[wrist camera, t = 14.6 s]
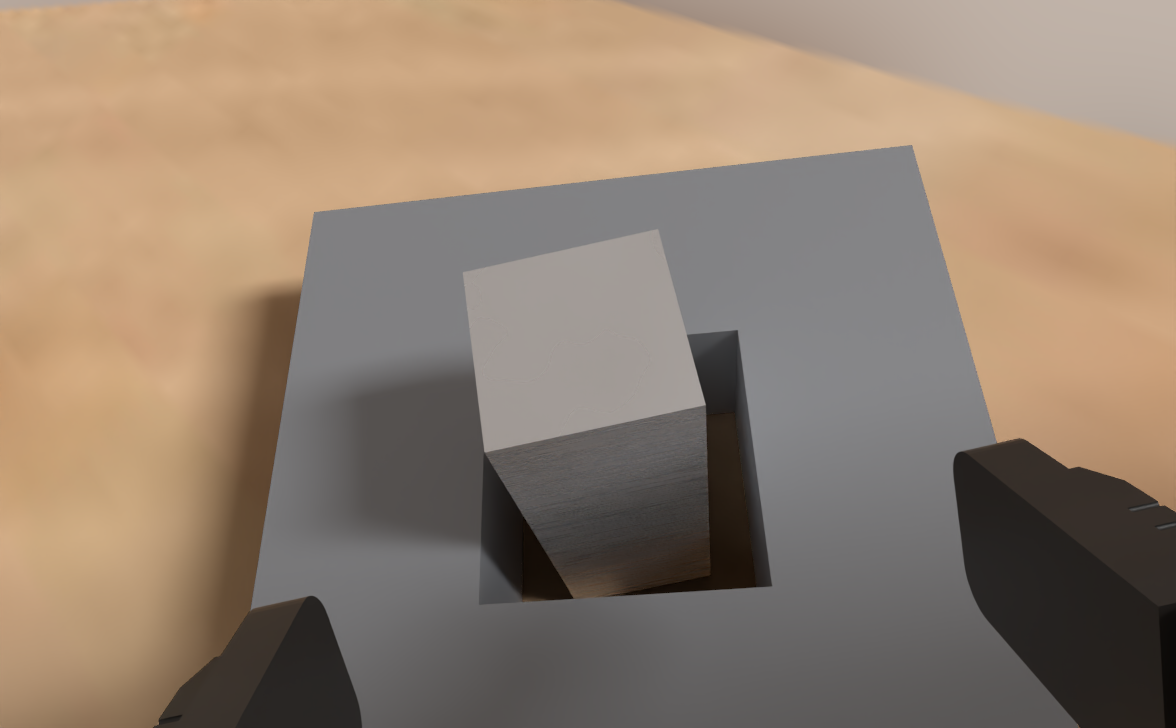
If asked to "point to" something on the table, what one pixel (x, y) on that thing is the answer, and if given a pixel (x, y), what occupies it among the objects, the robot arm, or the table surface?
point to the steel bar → (595, 411)
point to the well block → (729, 384)
